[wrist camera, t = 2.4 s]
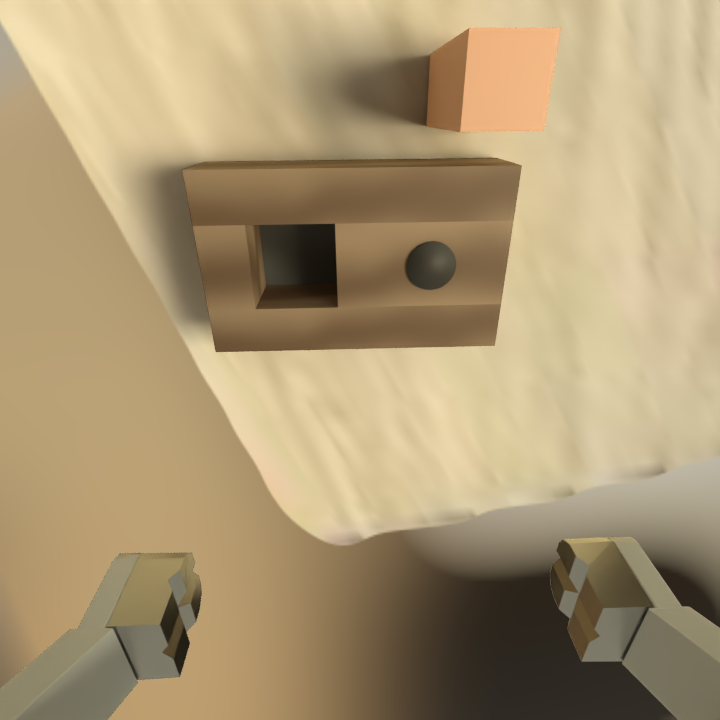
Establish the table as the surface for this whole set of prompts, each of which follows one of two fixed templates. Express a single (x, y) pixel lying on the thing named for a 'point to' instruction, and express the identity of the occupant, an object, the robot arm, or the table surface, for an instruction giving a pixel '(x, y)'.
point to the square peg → (492, 80)
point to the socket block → (353, 251)
